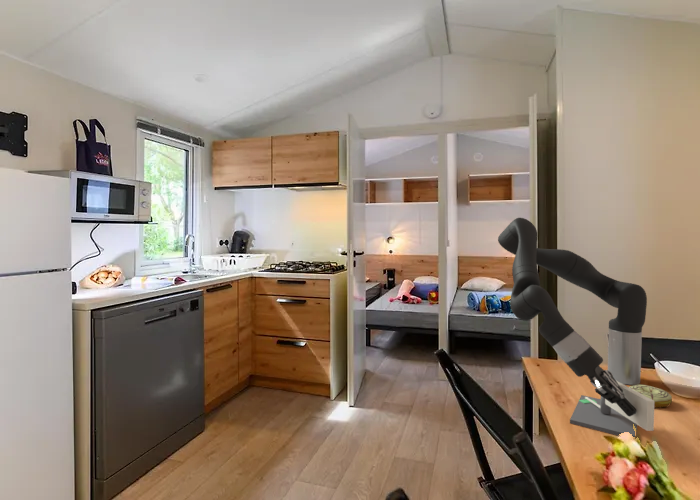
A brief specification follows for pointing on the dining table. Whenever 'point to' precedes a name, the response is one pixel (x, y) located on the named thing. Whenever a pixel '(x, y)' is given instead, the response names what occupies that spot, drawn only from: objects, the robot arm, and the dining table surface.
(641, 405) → the grey upright panel
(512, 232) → the robot arm
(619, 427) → the dial plate
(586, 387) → the dining table surface
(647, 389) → the decorated donut
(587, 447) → the dining table surface
